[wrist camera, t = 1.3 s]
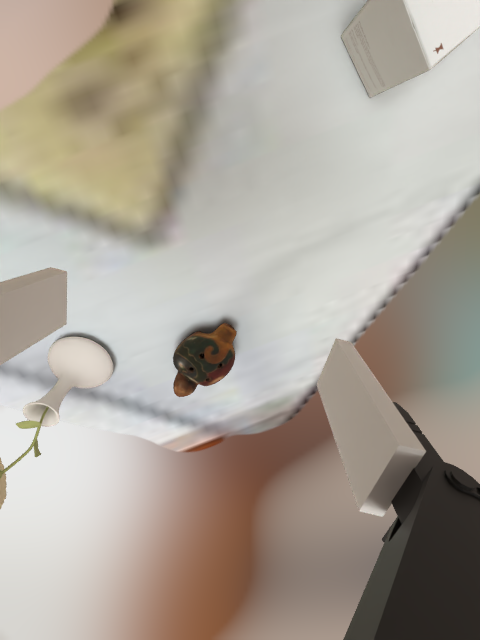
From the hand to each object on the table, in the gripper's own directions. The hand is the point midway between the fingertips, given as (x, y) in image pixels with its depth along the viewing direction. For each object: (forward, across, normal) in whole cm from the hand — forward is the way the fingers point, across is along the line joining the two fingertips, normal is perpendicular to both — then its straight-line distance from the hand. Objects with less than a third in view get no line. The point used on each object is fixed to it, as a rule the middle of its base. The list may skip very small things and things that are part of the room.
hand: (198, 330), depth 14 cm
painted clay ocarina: (+34, -2, -19) cm, 39 cm away
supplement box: (+29, +11, +26) cm, 40 cm away
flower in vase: (+33, -23, -28) cm, 49 cm away
